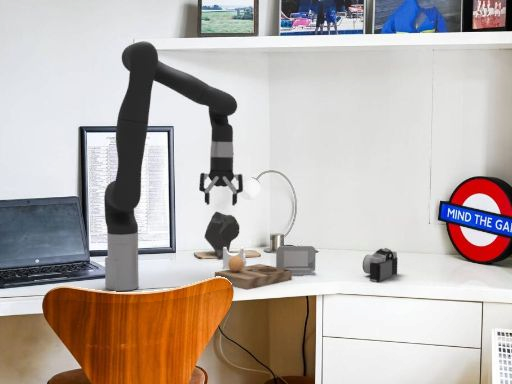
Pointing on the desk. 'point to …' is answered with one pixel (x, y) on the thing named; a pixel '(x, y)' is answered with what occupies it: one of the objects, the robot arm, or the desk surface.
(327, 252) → the desk surface
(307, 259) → the toaster
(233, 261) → the ball
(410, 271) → the desk surface
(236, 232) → the dark grey rock
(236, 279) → the brown wooden flat block
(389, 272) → the camera
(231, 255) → the bracket
